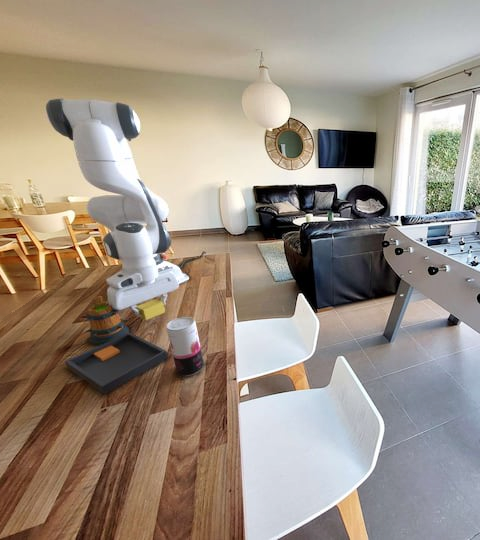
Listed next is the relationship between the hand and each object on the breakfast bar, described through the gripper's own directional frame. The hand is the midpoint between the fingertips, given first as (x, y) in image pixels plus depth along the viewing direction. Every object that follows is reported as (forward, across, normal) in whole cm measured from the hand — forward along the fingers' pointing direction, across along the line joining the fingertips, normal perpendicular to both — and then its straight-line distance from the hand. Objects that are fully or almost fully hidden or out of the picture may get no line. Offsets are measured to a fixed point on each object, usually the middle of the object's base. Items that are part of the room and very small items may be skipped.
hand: (151, 309), depth 99 cm
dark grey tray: (+5, +17, +14) cm, 23 cm away
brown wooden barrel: (+5, +11, -4) cm, 13 cm away
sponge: (+2, 0, 0) cm, 2 cm away
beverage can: (+5, +9, +33) cm, 35 cm away
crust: (+4, +17, +8) cm, 19 cm away
